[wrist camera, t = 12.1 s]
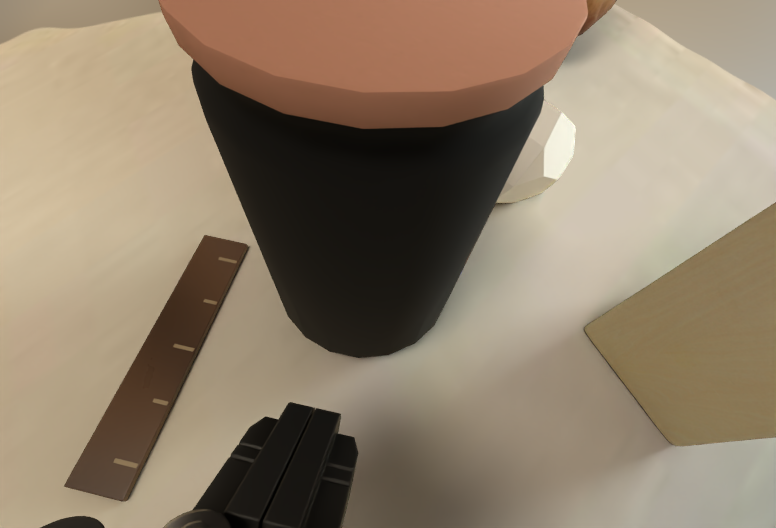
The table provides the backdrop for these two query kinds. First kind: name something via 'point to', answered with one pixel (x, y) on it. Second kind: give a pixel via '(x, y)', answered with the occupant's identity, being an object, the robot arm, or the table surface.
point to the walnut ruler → (157, 374)
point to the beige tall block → (703, 340)
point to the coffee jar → (370, 142)
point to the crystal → (541, 156)
